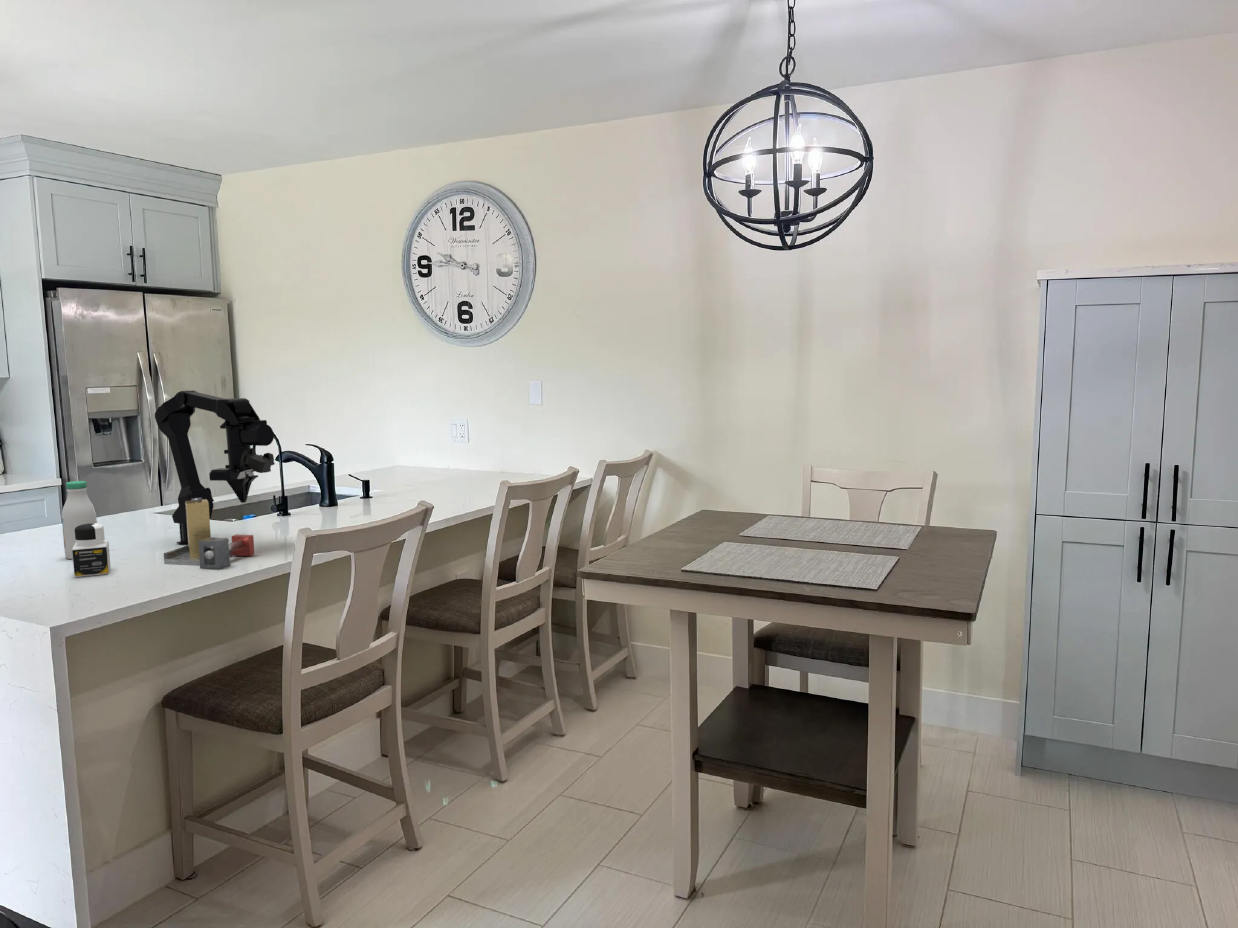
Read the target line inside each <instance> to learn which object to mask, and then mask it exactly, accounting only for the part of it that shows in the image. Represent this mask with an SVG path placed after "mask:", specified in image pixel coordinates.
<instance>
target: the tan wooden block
mask: <svg viewBox="0 0 1238 928" xmlns="http://www.w3.org/2000/svg"><path fill="white" fill-rule="evenodd" d="M185 505H186V519H187V533H188V544H187V545H188V547H189V555H190V557H200V553H199V540H202V539H205V538H209V537H212V534H211V522H210V518H209V503H208V501H207V499H203V500H202V498H192V499H191V501H185Z"/></svg>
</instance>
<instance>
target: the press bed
mask: <svg viewBox="0 0 1238 928" xmlns="http://www.w3.org/2000/svg"><path fill="white" fill-rule="evenodd" d="M229 557H230V558H231V557H234V556H233V551H231V552H229ZM163 563H164V564H167V565H183V564H188V565H189V566H200V557H190V555H189V547H188V544H186V545H185V546H181V547H178V548H175V549H173V550H168V551H166V552H163Z"/></svg>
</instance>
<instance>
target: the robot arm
mask: <svg viewBox="0 0 1238 928" xmlns="http://www.w3.org/2000/svg"><path fill="white" fill-rule="evenodd" d="M196 409H199V410H203V411H207V412H212V413H214V414H215V415H216V416H217V417H218V418H220V419H222V420H224V421H223V423H221V424H220V426H219V428H220V430H221V429H223V430H225V434H226V435H225V436H226V447H227V449H224V450H223V453H224V454H225V455H226V454H227V458H228V459H227V460H228V464H225V467H221V468H214V469H211V471H209V473H208V475H209V481H210V482H211V481H212V482H214V481H219V482H220V481H222V482H223V481H224V482H225V481H226V482H227V484H228V485H229V486H230V488H231V489H232V491H233V492H234V494H235V496H236V497H237V498H238V501H239V502H240V503H241V504H245V503H246V502H247V500H248V497H249V492H250V489H251V485H252V483H253V481H255V479H257V478H258V477H259V474H265V473H269V472H271V471H272V470H271V467H272V466H274V465H276V464H275V463H276V462H275V458H274V454H273V453H270V452H266V453H264V454H256V449H255V448H254V446H256V447H257V446H258V447H260V446H261V447H267V446H269V445H271V444H272V443H273V441H274V437H275V433H274V431H273V428H272V427H271V426H270V425H269V424H268V422H267V420H266V419H261V418H260V416H259V415H258V414H257V412H256V411H255V409H254V408H253V406H252V404H251V403H250V400H249V399H248V398H245V397H243V398H242V397H241V398H240V397H238V398H236V397H235V398H232V397H231V398H224V397H220V396H215V395H210V394H205V393H202V392H199V391H197V390H180V391H178V392H176V394H175V395H174V396H173V397H171V398H169V399H168V400H166V401H164V402H163V403H162V404H161V405H159V406H158V408H157V409H156V411H155V412H154V420H155V422H156V424H157V426H158V429H159V431H160V432H161V433H162V435H164V436H165V437H166V438H167V439H168V442H169V446H170V450H171V454H172V458H173V461H174V466H175V468H176V472H177V476H178V480H179V485H180V491H179V494H178V497H177V503H178V506H177V508H176V510H175V511H174V512H173V513H172V515H171V518H172V521H173V524H178V526H179V527H178V528H179V537H180V538H179V539H180V541H176V544H177V545H188V533H187V519H186V505H185V501H191V499H192V498H202V500H203V499H207V501H208V503H209V518H210V519H211V518H212V515H213V510H214V502H215V500H214V498H213V495H212V490H211V488H210V487H205V486H204V485H203V484H201V479H200V476H199V473H198V472H199V471H198V468H197V465H196V462H195V458H194V454H193V450H192V446H191V442H190V439H189V434H188V433H189V431H190V428H191V424H192V423H191V417H192V416H193V415H194V414H195V412H196ZM252 446H253V447H252ZM254 472H256V473H259V474H258V475H255V473H254Z"/></svg>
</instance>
